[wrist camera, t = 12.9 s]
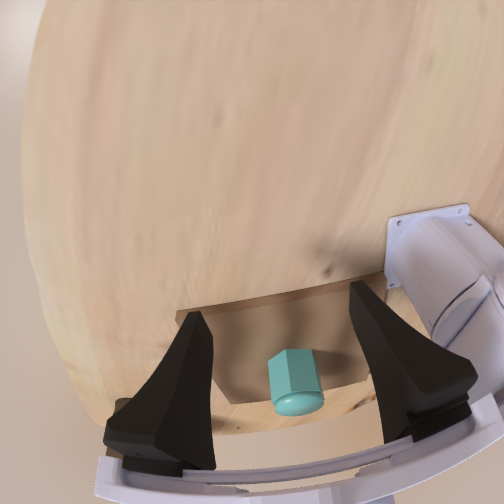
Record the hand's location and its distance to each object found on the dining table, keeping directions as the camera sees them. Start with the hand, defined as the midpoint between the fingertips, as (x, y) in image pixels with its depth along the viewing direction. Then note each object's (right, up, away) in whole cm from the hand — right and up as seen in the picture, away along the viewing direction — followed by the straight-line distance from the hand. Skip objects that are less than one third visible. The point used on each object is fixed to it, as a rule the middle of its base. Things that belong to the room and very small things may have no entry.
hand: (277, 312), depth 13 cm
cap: (+3, -10, +17) cm, 20 cm away
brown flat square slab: (+3, -9, +18) cm, 20 cm away
